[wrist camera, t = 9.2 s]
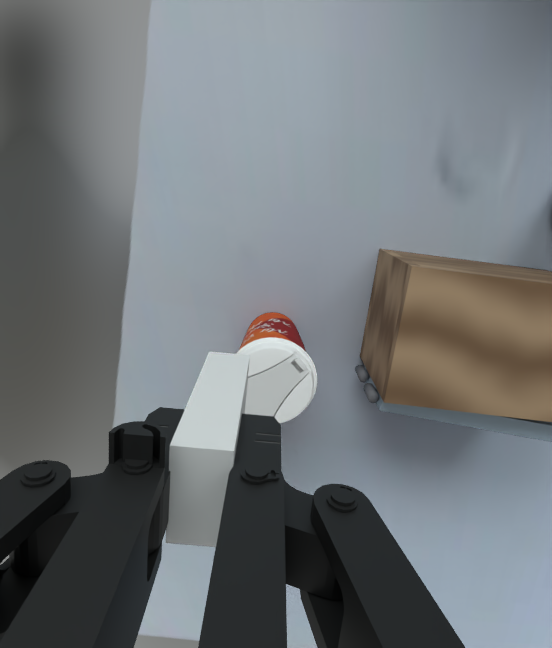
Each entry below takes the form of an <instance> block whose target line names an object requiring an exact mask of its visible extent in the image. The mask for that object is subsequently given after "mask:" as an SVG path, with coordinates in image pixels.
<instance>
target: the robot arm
mask: <svg viewBox="0 0 552 648" xmlns="http://www.w3.org/2000/svg"><path fill="white" fill-rule="evenodd" d="M249 361H250V355H242V354H231V353H220V352H210V351H209V353H208V356H207V358H206V360H205V363H204V365H203V368H202V370H201V372H200V375H199V377H198V379H197V382H196V384H195V387H194V389H193V391H192V394H191V396H190V398H189V401H188V403H187V406H186V408H185V410H184V409H173V408H162V407H160V408H158V409H157V410H155V411H153V412H152V413H150V414H149V415H148V417H147V418H146V420H145V421H141V422H129V423H124V424H121V425H119V426H117V427H114V428H113V429H112V430H111V431H110V432H109V464H108V466H107V468H106V469H105V471H104V472H103V473H100V474H96V475H91V476H83V477H73V478H71V470H70V469H69V468H68V466H67V465H65V464H63V463H61V462H58V461H49V460H46V461H45V460H43V461H35V462H32V463H29V464H25V465H23V466H21V467H19V468H17V469H16V470H14V471H12V472H10V473H9V474H8V475H6V476H5V477H3V478H2V479H1V480H0V563H1V562H2V561H3V559H5V558H6V557H7V556H8V555H9V558H8V559H7V560H6V561H5V562H4V563H3V564H1V565H0V648H134V645H135V641H136V638H137V635H138V632H139V629H140V625H141V622H142V619H143V616H144V613H145V609H146V606H147V603H148V600H149V596H150V593H151V590H152V587H153V584H154V580H155V577H156V574H157V571H158V568H159V564H160V561H161V552H162V539H163V536H164V533H165V530H166V543H173V544H185V545H197V546H209V547H216V550H215V555H214V561H213V567H212V573H211V578H210V584H209V590H208V595H207V601H206V607H205V612H204V618H203V624H202V629H201V635H200V641H199V647H198V648H287V626H286V584H288V585H291V586H293V587H296V588H299V589H300V594H301V600H302V603H303V606H304V609H305V612H306V615H307V618H308V621H309V624H310V627H311V630H312V632H313V635H314V638H315V641H316V644H317V647H318V648H465V646H464V645H463V643H462V642H461V640H460V639H459V637H458V636H457V634H456V633H455V631H454V629H453V628H452V626H451V625H450V623H449V622H448V620H447V619H446V617H445V616H444V614H443V613H442V611H441V609H440V608H439V606H438V605H437V603H436V602H435V600H434V599H433V597H432V596H431V594H430V593H429V591H428V590H427V588H426V586H425V585H424V583H423V582H422V580H421V579H420V577H419V576H418V574H417V573H416V571H415V570H414V568H413V566H412V565H411V563H410V562H409V560H408V559H407V557H406V556H405V554H404V553H403V551H402V550H401V548H400V546H399V545H398V543H397V542H396V540H395V539H394V537H393V536H392V534H391V533H390V531H389V530H388V528H387V527H386V525H385V523H384V522H383V520H382V519H381V517H380V516H379V514H378V513H377V511H376V510H375V508H374V507H373V505H372V503H371V502H370V500H369V499H368V498H367V497H366V496H365V495H364V494H363V493H362V492H360V491H358V490H357V489H355V488H353V487H350V486H346V485H343V484H329V485H324V486H322V487H320V488H318V489H317V490H316V491H315V493H314V495H310V494H306V493H304V492H301V491H298V490H296V489H295V488H293V487H291V486H290V485H289V484H288V483H287V482H286V481H285V480H284V477H283V474H282V472H281V425H280V424H279V422H278V421H277V420H276V419H275V417H274V416H264V415H253V414H245V406H246V395H247V383H248V372H249Z"/></svg>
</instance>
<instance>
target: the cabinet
mask: <svg viewBox="0 0 552 648" xmlns="http://www.w3.org/2000/svg"><path fill="white" fill-rule="evenodd" d="M360 357H361V359H362V361H363V363H364V365H365V367H366V369H367V371H368V373H369V375H370V377H371V379H372V381H373V382H374V384H375V386H376V388H377V390H378V392H379V394H380V396H381V398H382V400H383V402H384V403H392V404H401V405H409V406H418V407H426V408H435V409H444V410H452V411H461V412H469V413H478V414H486V415H495V416H503V417H512V418H521V419H529V420H538V421H546V422H552V272H551V271H547V270H540V269H533V268H525V267H517V266H509V265H501V264H494V263H486V262H478V261H470V260H463V259H455V258H447V257H439V256H432V255H424V254H416V253H408V252H400V251H393V250H385V249H380V250H379V256H378V261H377V266H376V272H375V277H374V283H373V288H372V293H371V299H370V304H369V310H368V315H367V320H366V326H365V331H364V336H363V342H362V347H361V353H360Z"/></svg>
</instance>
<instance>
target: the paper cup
mask: <svg viewBox="0 0 552 648" xmlns="http://www.w3.org/2000/svg"><path fill="white" fill-rule="evenodd" d="M236 354H242V355H250V361H249V372H248V383H247V395H246V406H245V414H253V415H264V416H274V417H275V419H276V420H277V421H278V422H279V423H283V422H287V421H289V420H291V419H293V418H295V417H296V416H298V415H299V414H300V413H301V412H302V411H303V410H305V409H306V408H307V406H308V405H309V404H310V402H311V401H312V399H313V397H314V395H315V392H316V388H317V372H316V368H315V365H314V363H313V361H312V359H311V358H310V356H309V355H308V354H307V352H306V351H305V347H304V344H303V342H302V340H301V338H300V336H299V333H298V331H297V329H296V327H295V325H294V323H293V322H292V321H291V320H290V319H289V318H288V317H286V316H285V315H283V314H280V313H273V312H272V313H265V314H263V315H260V316H259V317H257V318H256V319H255V320H254V321H253V322H252V323H251V325H250V327H249V328H248V330H247V333H246V335H245V337H244V340H243V342H242V344H241V347H240V349H239V351H238V352H237V353H236Z"/></svg>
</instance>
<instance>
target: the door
mask: <svg viewBox="0 0 552 648" xmlns="http://www.w3.org/2000/svg"><path fill="white" fill-rule="evenodd" d="M355 371H356V373H357V375H358V378H359V380H360V381H361V382H366V383H367V384H365V385H364V391H365V393H366V395H367V397H368V400H369V401H370V402H371V403H376V404H377V406H378V408H379V411H384V412H389V413H395V414H400V415H406V416H411V417H417V418H422V419H428V420H433V421H439V422H445V423H450V424H456V425H461V426H467V427H472V428H478V429H483V430H489V431H494V432H500V433H505V434H511V435H516V436H522V437H527V438H533V439H538V440H544V441H549V442H552V422H546V421H538V420H529V419H521V418H512V417H503V416H495V415H486V414H478V413H469V412H461V411H452V410H444V409H435V408H426V407H418V406H409V405H401V404H392V403H384V402H383V400H382V398H381V396H380V394H379V392H378V390H377V388H376V386H375V384H374V382H373V381H372V379H371V377H370V375H369V373H368V371H367V369H366V367H365V365H364V366H362V365H358V366H356V368H355Z"/></svg>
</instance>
